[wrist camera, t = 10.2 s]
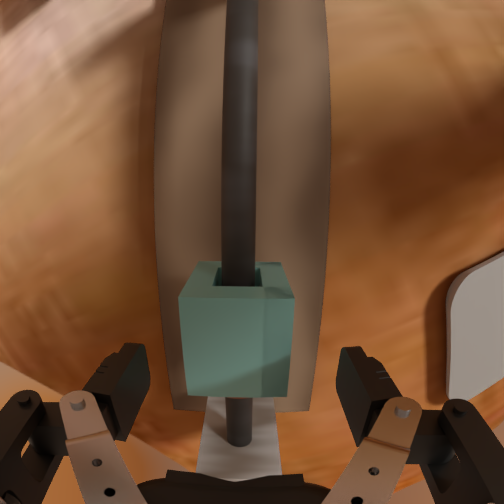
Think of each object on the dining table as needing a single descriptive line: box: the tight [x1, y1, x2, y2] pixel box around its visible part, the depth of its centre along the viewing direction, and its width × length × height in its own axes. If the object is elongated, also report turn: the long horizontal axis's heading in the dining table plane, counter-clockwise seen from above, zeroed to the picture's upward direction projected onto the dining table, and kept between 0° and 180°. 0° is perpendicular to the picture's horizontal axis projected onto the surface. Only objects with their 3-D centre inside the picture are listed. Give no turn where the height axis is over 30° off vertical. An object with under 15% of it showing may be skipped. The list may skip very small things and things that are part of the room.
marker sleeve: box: [178, 261, 295, 398], centre depth 15 cm, size 5×5×6 cm
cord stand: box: [154, 0, 331, 482], centre depth 16 cm, size 12×40×12 cm, turn 179°
